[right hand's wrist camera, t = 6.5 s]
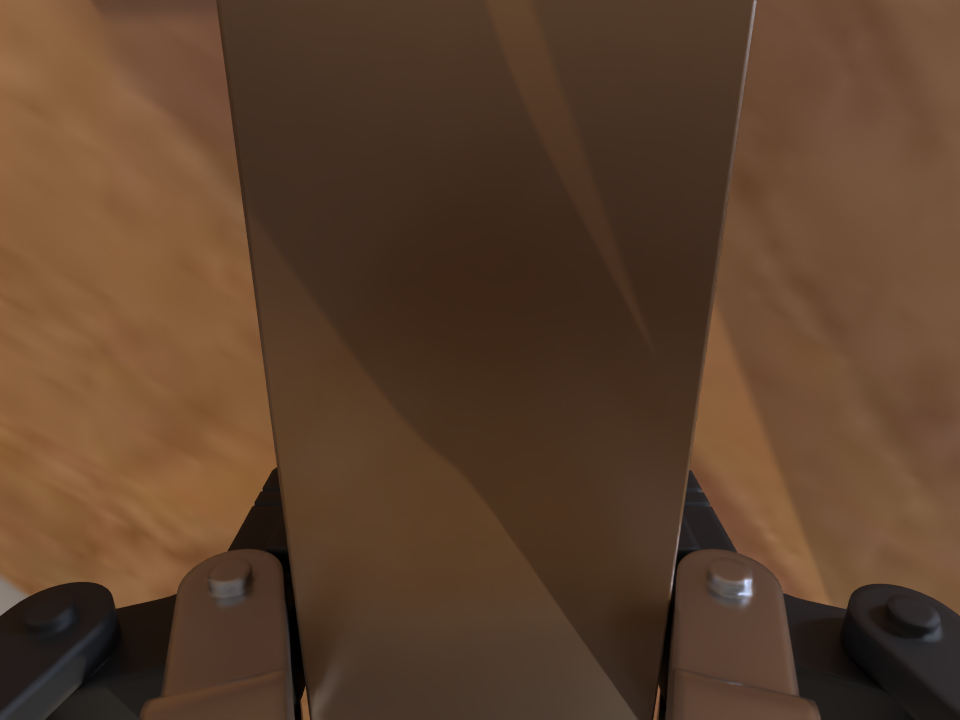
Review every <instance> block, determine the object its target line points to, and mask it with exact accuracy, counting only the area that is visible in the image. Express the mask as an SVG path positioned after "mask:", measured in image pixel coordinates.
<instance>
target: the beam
mask: <svg viewBox="0 0 960 720" xmlns="http://www.w3.org/2000/svg"><path fill="white" fill-rule="evenodd" d="M216 2H217V9H218V17H219V25H220V32H221V40H222V48H223V55H224V63H225V71H226V78H227V86H228V94H229V101H230V109H231V117H232V124H233V132H234V140H235V147H236V155H237V163H238V170H239V178H240V186H241V193H242V201H243V209H244V216H245V224H246V232H247V239H248V247H249V255H250V262H251V270H252V278H253V285H254V293H255V301H256V308H257V316H258V324H259V331H260V339H261V346H262V354H263V362H264V369H265V377H266V385H267V392H268V400H269V408H270V415H271V423H272V431H273V438H274V446H275V454H276V461H277V469H278V477H279V484H280V492H281V500H282V507H283V515H284V523H285V530H286V538H287V546H288V553H289V561H290V569H291V576H292V584H293V592H294V599H295V607H296V615H297V622H298V630H299V638H300V645H301V653H302V661H303V668H304V676H305V684H306V691H307V699H308V707H309V714H310V720H653V717H654V710H655V704H656V697H657V690H658V683H659V676H660V669H661V662H662V655H663V648H664V641H665V634H666V627H667V620H668V613H669V606H670V599H671V593H672V586H673V579H674V572H675V565H676V558H677V551H678V544H679V537H680V530H681V523H682V516H683V509H684V502H685V495H686V488H687V482H688V475H689V468H690V461H691V454H692V447H693V440H694V433H695V426H696V419H697V412H698V405H699V398H700V391H701V384H702V377H703V371H704V364H705V357H706V350H707V343H708V336H709V329H710V322H711V315H712V308H713V301H714V294H715V287H716V280H717V273H718V266H719V260H720V253H721V246H722V239H723V232H724V225H725V218H726V211H727V204H728V197H729V190H730V183H731V176H732V169H733V162H734V155H735V148H736V142H737V135H738V128H739V121H740V114H741V107H742V100H743V93H744V86H745V79H746V72H747V65H748V58H749V51H750V44H751V37H752V31H753V24H754V17H755V10H756V3H757V0H216Z"/></svg>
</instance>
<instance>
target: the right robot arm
mask: <svg viewBox="0 0 960 720" xmlns="http://www.w3.org/2000/svg"><path fill="white" fill-rule="evenodd" d="M709 504H710V503H709V501H708V500H707V498H706V496H705V494H704V492H702V491H701V487H700V485H699V484H698V482H697V480H696V478H695V476H694V475H693V473H692V471H690V470H689V475H688V482H687V488H686V495H685V502H684V509H683V516H682V523H681V530H680V537H679V544H678V551H677V558H676V565H675V572H674V579H673V586H672V593H671V599H670V606H669V613H668V620H667V627H666V634H665V641H664V648H663V655H662V662H661V669H660V676H659V683H658V684H659V687H660V697H659V704H658V711H657V720H960V616H959V615H958V614H956V613H955V612H954V611H952V610H951V609H950V608H948V607H947V606H945V605H944V604H942V603H940V602H939V601H937V600H935V599H933V598H931V597H929V596H927V595H925V594H923V593H920V592H917V591H915V590H912V589H908V588H905V587H901V586H896V585H889V584H871V585H866V586H863V587H860V588H858V589H857V590H855V591H854V592H853V593H852V595H851V597H850V599H849V603H848V607H847V609H843V608H838V607H834V606H829V605H825V604H820V603H816V602H811V601H807V600H803V599H799V598H795V597H793V596H790V595H787V594H784V593H783V591H782V587H781V585H780V583H779V581H778V579H777V578H776V577H775V576H774V574H773V573H772V572H771V571H770V570H768V569H767V568H766V567H765V566H763V565H762V564H761V563H759V562H757V561H755V560H754V559H752V558H749V557H747V556H745V555H742V554H739V553H737V551H736V549H735V547H734V546H733V544H732V542H731V540H730V539H729V537H728V535H727V533H726V532H725V530H724V528H723V526H722V524H721V523H720V521H719V519H718V517H717V516H716V514H715V512H714V510H713V508H712V507H710V505H709ZM305 685H306V684H305V676H304V668H303V661H302V653H301V645H300V638H299V630H298V622H297V615H296V607H295V599H294V592H293V584H292V576H291V569H290V561H289V553H288V546H287V538H286V530H285V523H284V515H283V507H282V500H281V492H280V484H279V477H278V469H277V468H275V469H274V470H273V471H272V472H271V474H270V476H269V478H268V479H267V481H266V483H265V485H264V487H263V491H262V492H260V494H259V496H258V497H257V499H256V501H255V506H252V508H251V510H250V512H249V514H248V515H247V517H246V519H245V521H244V523H243V524H242V526H241V528H240V530H239V532H238V533H237V535H236V537H235V539H234V541H233V542H232V544H231V546H230V548H229V550H228V551H227V552H224V553H221V554H218V555H215V556H213V557H211V558H208V559H206V560H205V561H203V562H201V563H200V564H198V565H197V566H195V567H194V568H193V569H192V570H191V571H189V572H188V573H187V574H186V576H185V577H184V578H183V579H182V581H181V583H180V585H179V588H178V591H177V594H175V595H173V596H170V597H166V598H162V599H158V600H154V601H149V602H145V603H140V604H136V605H131V606H127V607H123V608H118V609H116V608H115V604H114V600H113V597H112V594H111V592H110V591H109V590H108V589H107V588H105V587H104V586H102V585H99V584H96V583H90V582H75V583H67V584H62V585H58V586H55V587H51V588H48V589H45V590H43V591H40V592H38V593H36V594H34V595H31V596H29V597H28V598H26V599H24V600H22V601H21V602H19V603H18V604H16V605H15V606H13V607H12V608H10V609H9V610H8V611H6V612H5V613H4V614H2V615H1V616H0V720H303V711H302V704H301V698H302V695H303V692H304V689H305Z"/></svg>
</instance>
